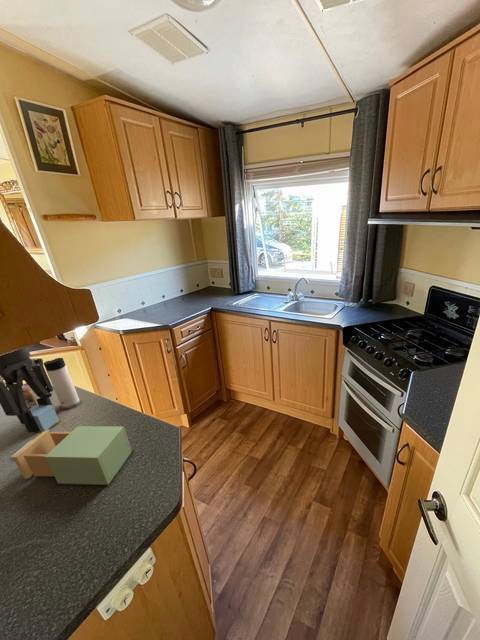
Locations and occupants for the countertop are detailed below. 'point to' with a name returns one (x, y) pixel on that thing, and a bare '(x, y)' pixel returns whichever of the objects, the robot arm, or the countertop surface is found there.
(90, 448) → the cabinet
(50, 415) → the block
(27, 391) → the candy box
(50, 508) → the countertop surface
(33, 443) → the drawer
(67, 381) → the travel mug
